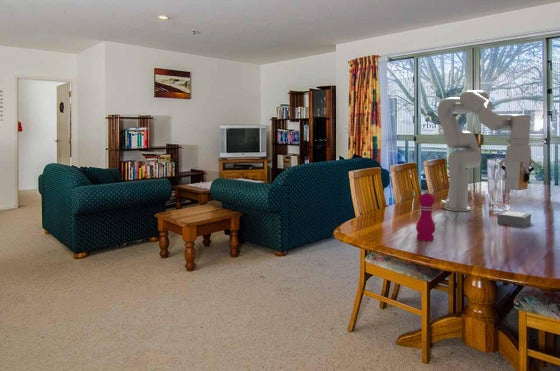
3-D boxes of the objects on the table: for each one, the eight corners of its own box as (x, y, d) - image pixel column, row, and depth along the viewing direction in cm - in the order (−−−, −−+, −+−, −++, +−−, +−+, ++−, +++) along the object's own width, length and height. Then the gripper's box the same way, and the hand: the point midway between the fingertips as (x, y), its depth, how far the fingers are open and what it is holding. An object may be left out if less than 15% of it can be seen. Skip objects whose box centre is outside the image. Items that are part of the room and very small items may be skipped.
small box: (518, 190, 191) (520, 161, 189) (504, 189, 196) (506, 160, 195) (527, 189, 196) (530, 160, 194) (513, 187, 201) (515, 159, 199)
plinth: (497, 222, 198) (497, 214, 197) (504, 219, 206) (505, 210, 205) (523, 226, 190) (524, 217, 190) (530, 222, 198) (531, 213, 198)
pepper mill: (418, 236, 176) (420, 187, 173) (436, 238, 172) (439, 189, 169) (413, 239, 170) (415, 190, 167) (431, 242, 166) (434, 191, 163)
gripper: (496, 141, 196) (493, 180, 199) (539, 142, 184) (536, 183, 187) (501, 141, 202) (498, 178, 204) (543, 142, 190) (540, 181, 192)
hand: (516, 180), depth 195 cm, fingers closed on small box, 7 cm apart
